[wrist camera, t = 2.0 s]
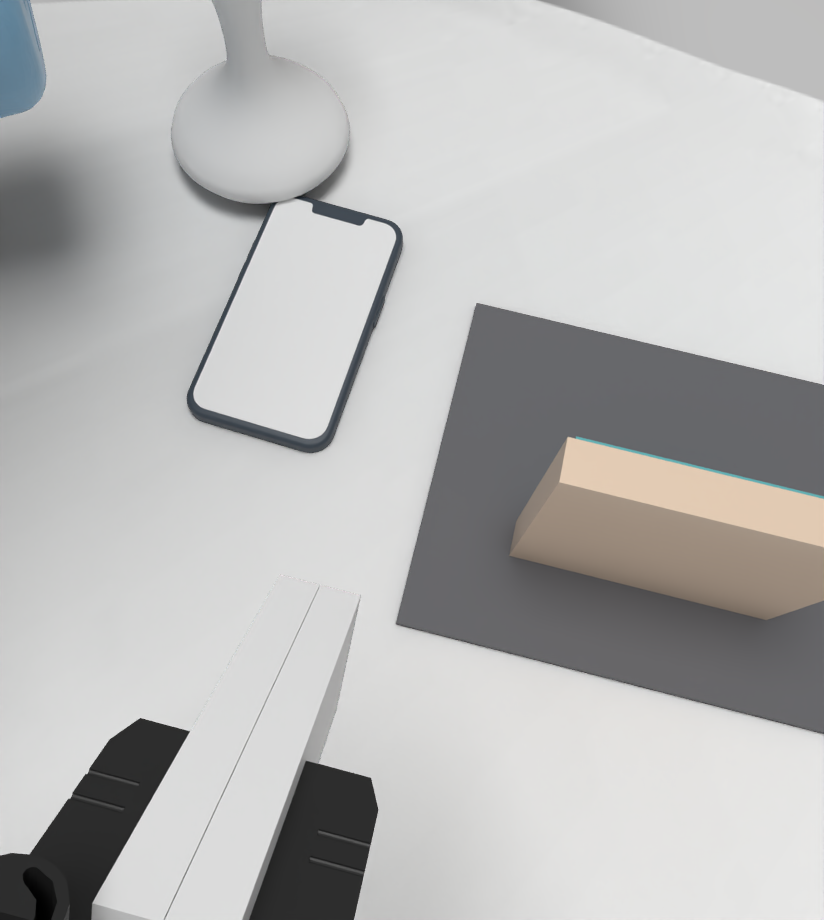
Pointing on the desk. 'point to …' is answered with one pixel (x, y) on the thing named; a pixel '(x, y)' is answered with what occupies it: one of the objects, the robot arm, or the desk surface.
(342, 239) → the smartphone
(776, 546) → the tile
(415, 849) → the desk surface
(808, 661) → the mat
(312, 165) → the flower in vase
